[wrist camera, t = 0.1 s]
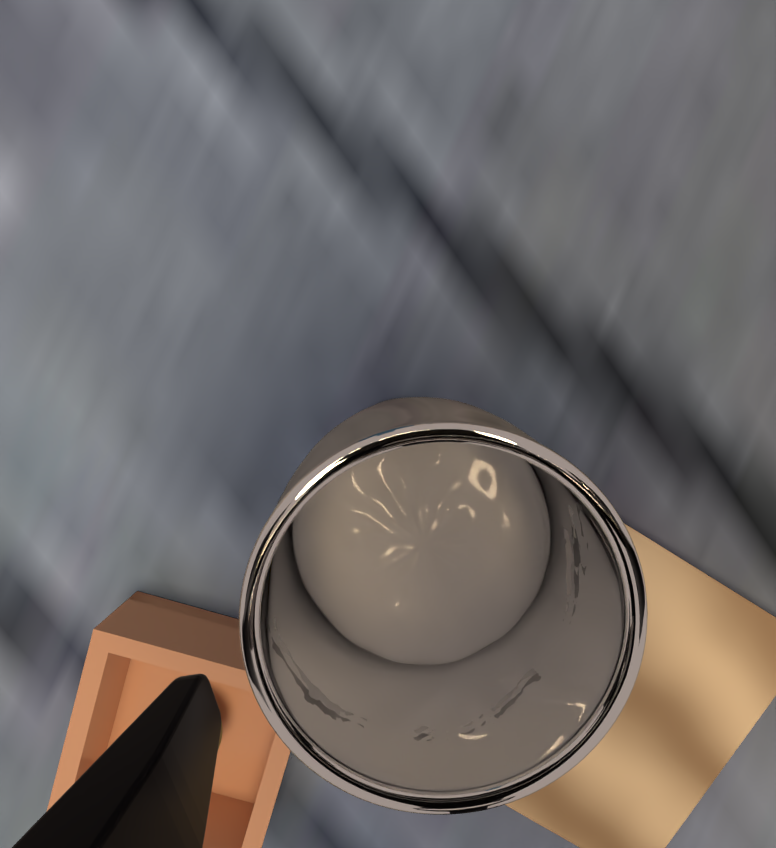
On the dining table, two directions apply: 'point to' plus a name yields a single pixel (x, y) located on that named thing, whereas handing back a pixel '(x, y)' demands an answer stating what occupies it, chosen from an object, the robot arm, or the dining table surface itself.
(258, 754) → the terracotta dish
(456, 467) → the metal goblet
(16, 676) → the dining table surface
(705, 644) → the oak board
